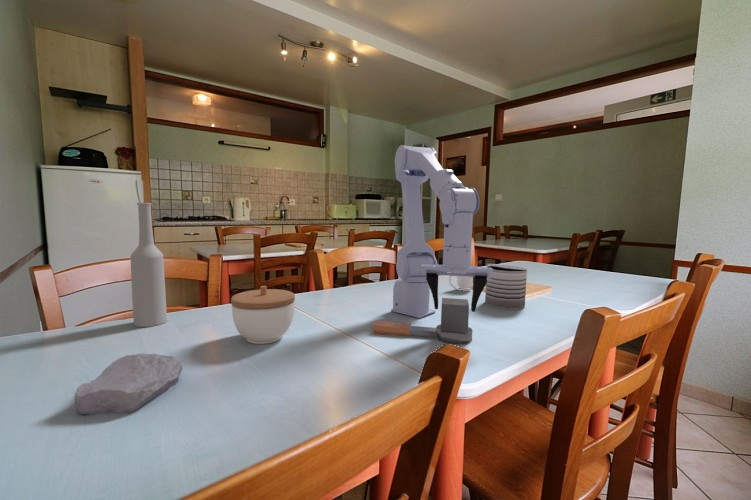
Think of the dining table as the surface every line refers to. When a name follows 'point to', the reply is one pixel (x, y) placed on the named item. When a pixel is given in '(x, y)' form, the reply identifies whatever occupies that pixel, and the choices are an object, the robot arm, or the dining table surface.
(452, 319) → the dark grey cube
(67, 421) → the dining table surface
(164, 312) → the bottle
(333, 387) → the dining table surface
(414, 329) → the ratchet
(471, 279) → the cup
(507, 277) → the can
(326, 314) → the dining table surface
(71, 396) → the dining table surface
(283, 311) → the lidded bowl
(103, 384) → the stone block
